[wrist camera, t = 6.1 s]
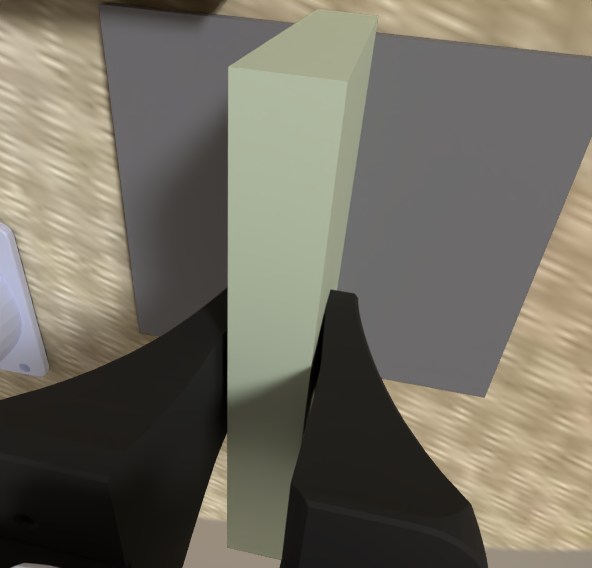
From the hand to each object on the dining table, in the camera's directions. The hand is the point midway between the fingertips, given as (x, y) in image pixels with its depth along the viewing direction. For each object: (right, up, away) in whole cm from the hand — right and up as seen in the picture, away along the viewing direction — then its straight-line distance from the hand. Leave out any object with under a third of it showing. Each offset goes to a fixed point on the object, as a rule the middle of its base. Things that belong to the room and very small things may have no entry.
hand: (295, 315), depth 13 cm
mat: (+1, +3, +4) cm, 5 cm away
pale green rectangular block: (+1, +3, +4) cm, 5 cm away
